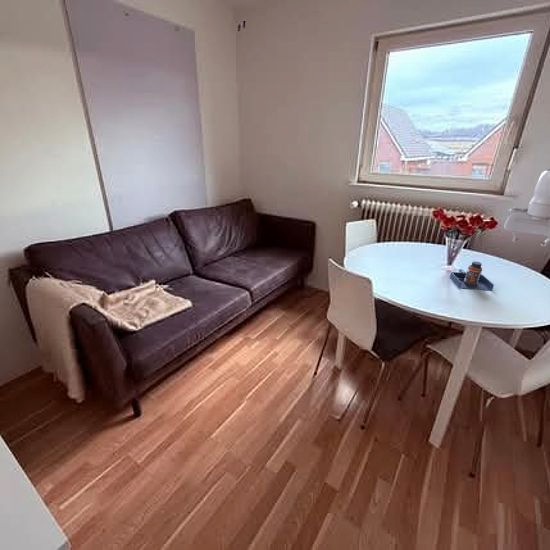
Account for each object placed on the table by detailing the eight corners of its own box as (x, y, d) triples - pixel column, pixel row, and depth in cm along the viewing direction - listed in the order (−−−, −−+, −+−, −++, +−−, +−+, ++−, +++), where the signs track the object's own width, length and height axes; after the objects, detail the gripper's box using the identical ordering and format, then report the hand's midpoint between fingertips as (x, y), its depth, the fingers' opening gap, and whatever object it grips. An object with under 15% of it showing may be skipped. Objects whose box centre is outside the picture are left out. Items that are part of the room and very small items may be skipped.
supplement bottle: (462, 284, 154) (469, 263, 149) (463, 280, 159) (470, 259, 154) (476, 287, 151) (483, 266, 146) (477, 283, 156) (484, 262, 151)
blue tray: (491, 290, 149) (494, 284, 147) (458, 288, 150) (460, 282, 149) (473, 274, 166) (475, 268, 165) (444, 271, 168) (446, 266, 167)
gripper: (510, 208, 125) (498, 241, 131) (576, 215, 116) (561, 250, 121) (509, 205, 130) (498, 237, 136) (572, 212, 120) (558, 246, 126)
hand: (528, 243), depth 128 cm, fingers open, 8 cm apart
